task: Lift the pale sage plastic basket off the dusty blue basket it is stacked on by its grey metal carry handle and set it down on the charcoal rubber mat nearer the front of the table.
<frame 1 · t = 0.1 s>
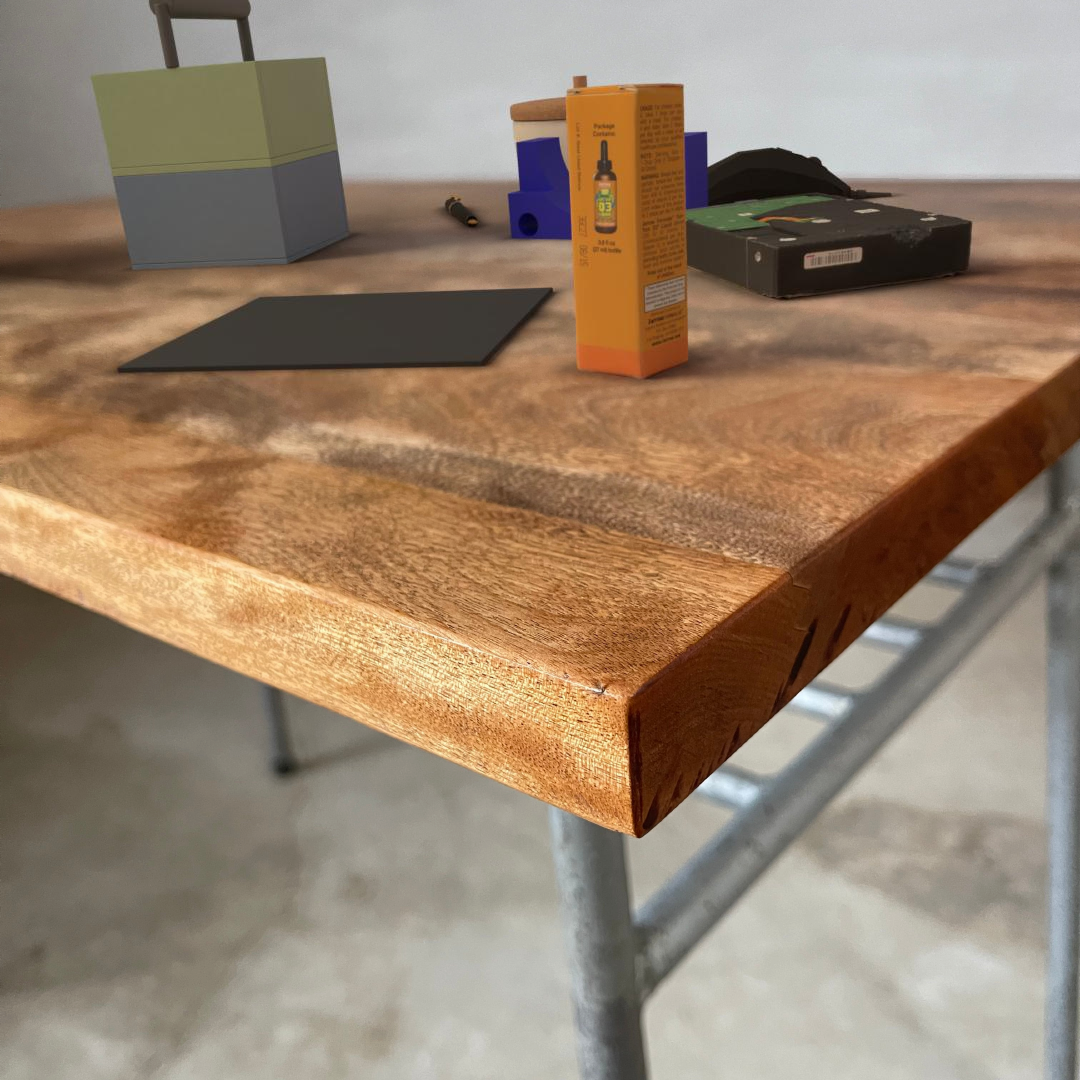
gaming mouse: (784, 209, 79), on the table
mat: (354, 332, 52), on the table
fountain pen: (462, 224, 85), on the table
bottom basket: (247, 254, 77), on the table, touching top basket
top basket: (230, 162, 74), point 6 cm above the table, touching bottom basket
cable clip: (608, 239, 72), on the table
disk drive: (798, 271, 58), on the table
supplement box: (635, 372, 42), on the table
trinket box: (587, 209, 86), on the table
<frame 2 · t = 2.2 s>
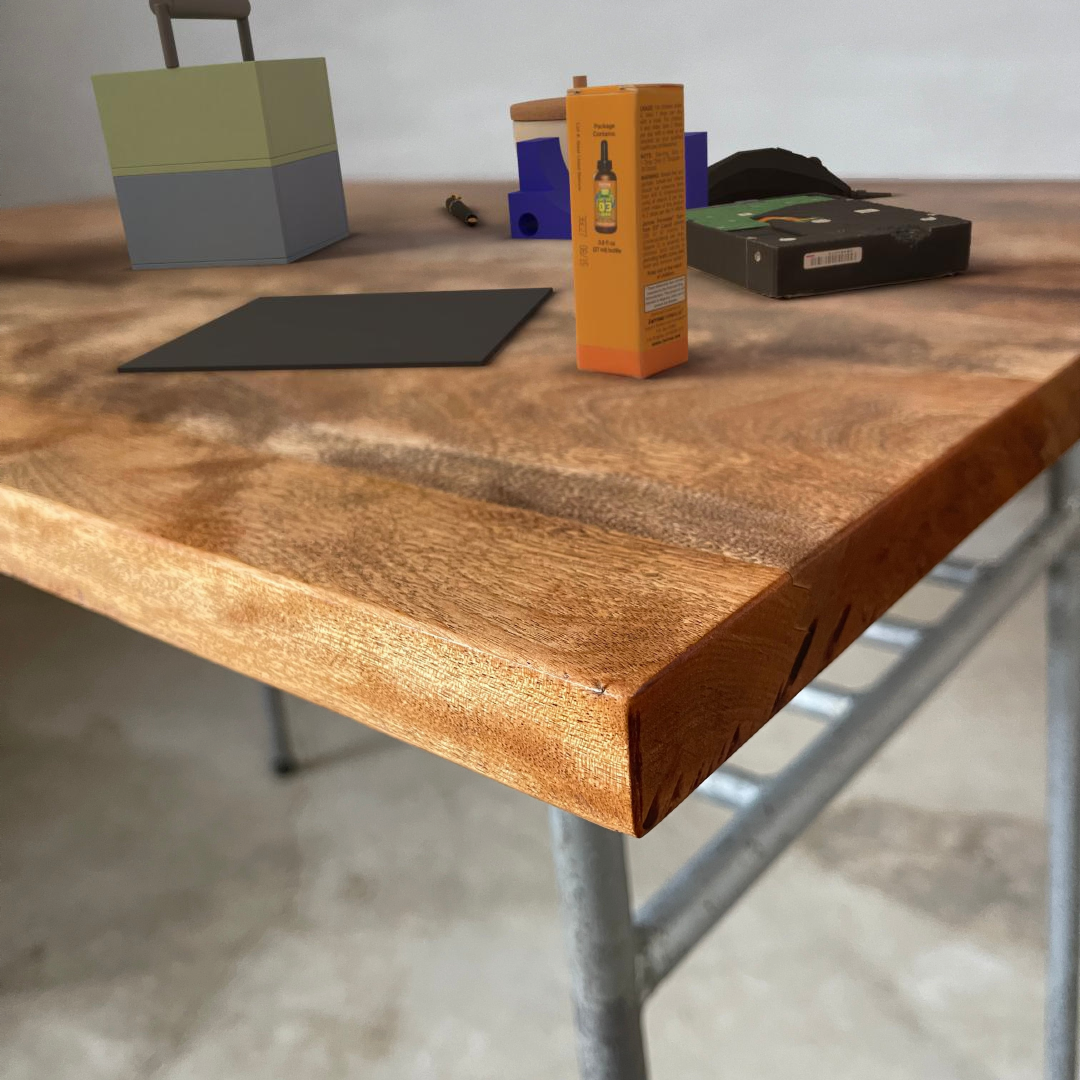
nothing on the table moved.
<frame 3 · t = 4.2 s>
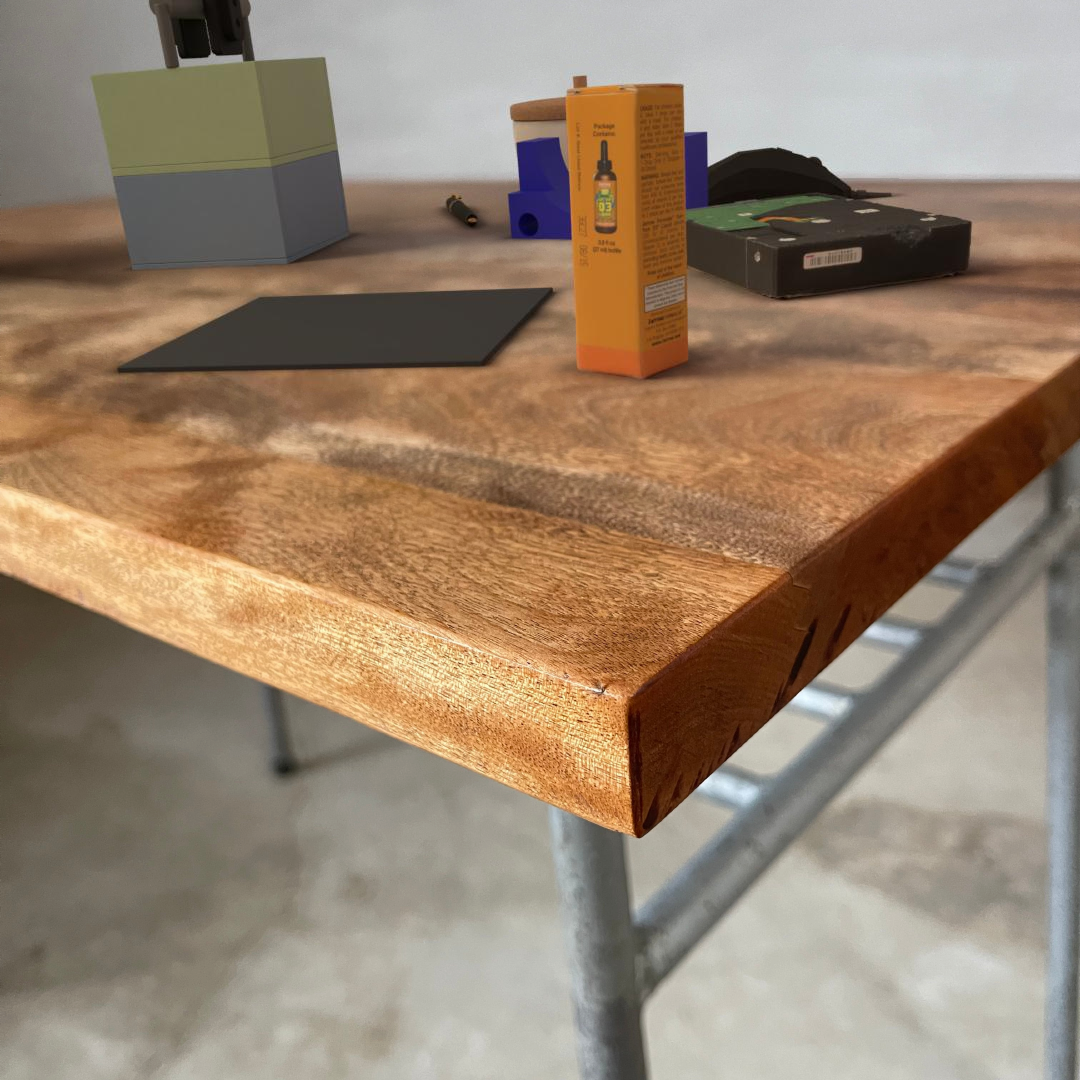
hand: (211, 54, 72), 13 cm above the table, tool pointing down, fingers closed on top basket
top basket: (230, 162, 74), point 6 cm above the table, touching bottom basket, gripper
everything else where it was.
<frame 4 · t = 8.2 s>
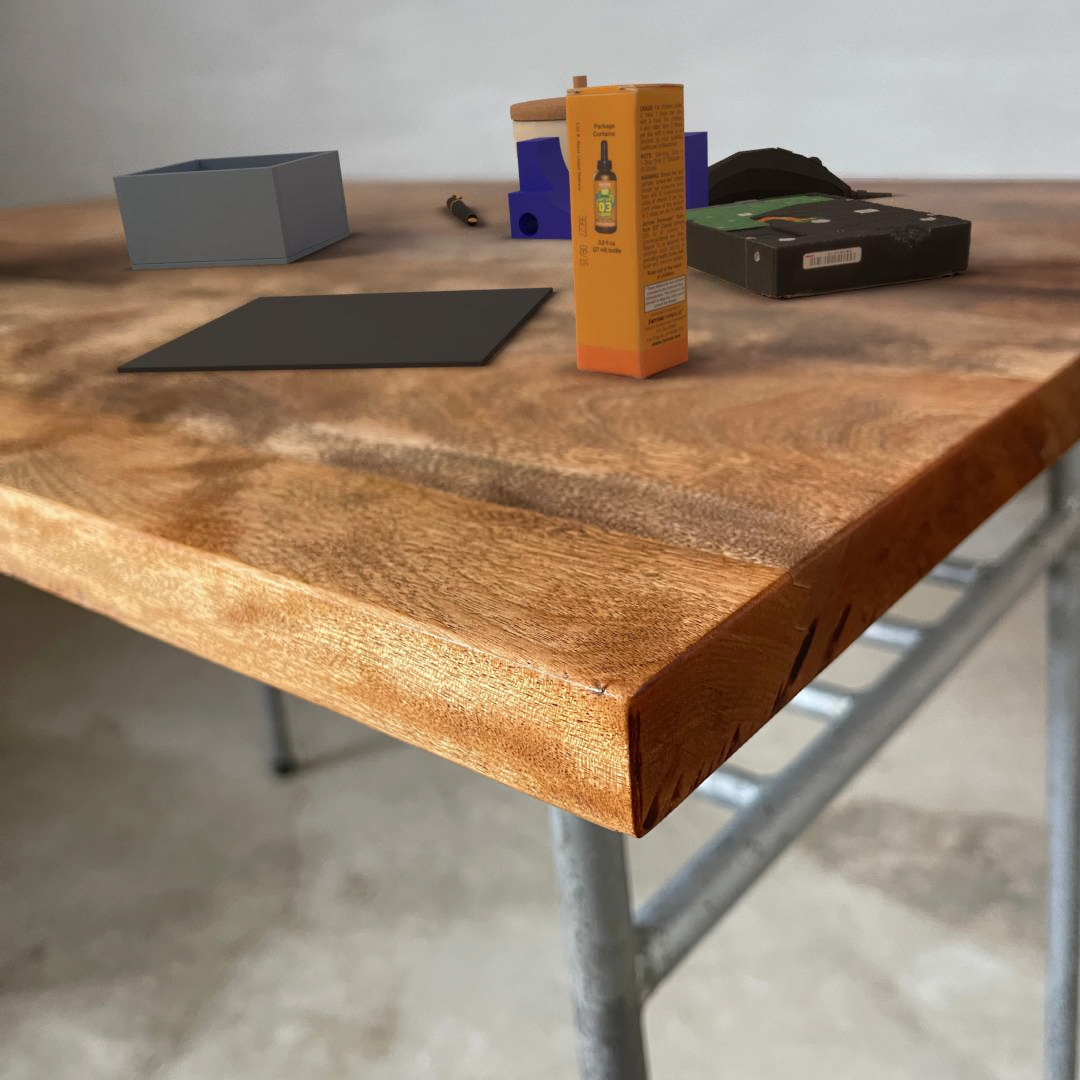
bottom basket: (247, 254, 77), on the table
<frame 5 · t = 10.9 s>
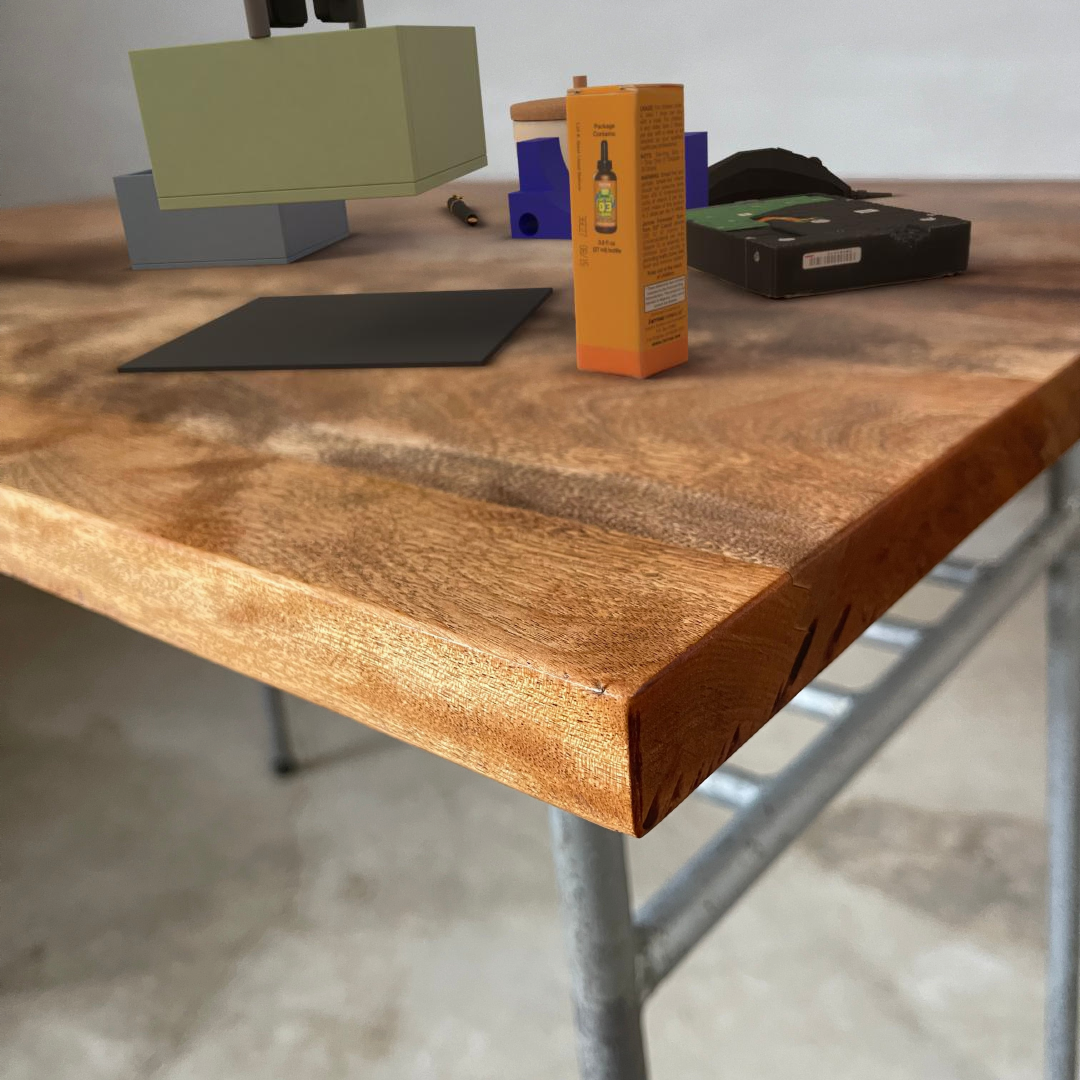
hand: (312, 21, 46), 13 cm above the table, tool pointing down, fingers closed on top basket
top basket: (336, 186, 49), point 6 cm above the table, touching gripper
everything else where it was.
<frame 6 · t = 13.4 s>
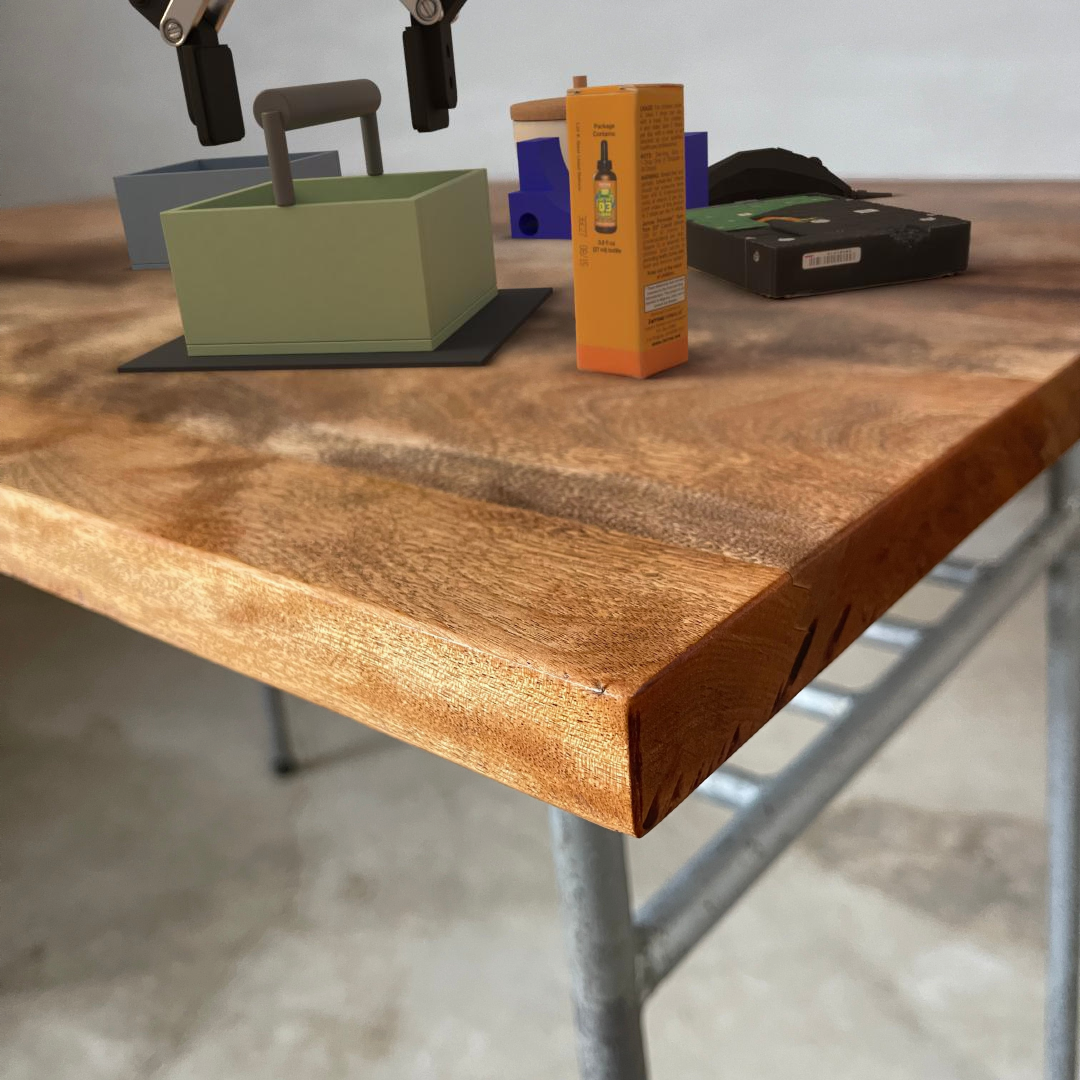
hand: (325, 136, 48), 9 cm above the table, tool pointing down, fingers open, 9 cm apart
top basket: (354, 323, 51), resting on mat
everything else where it was.
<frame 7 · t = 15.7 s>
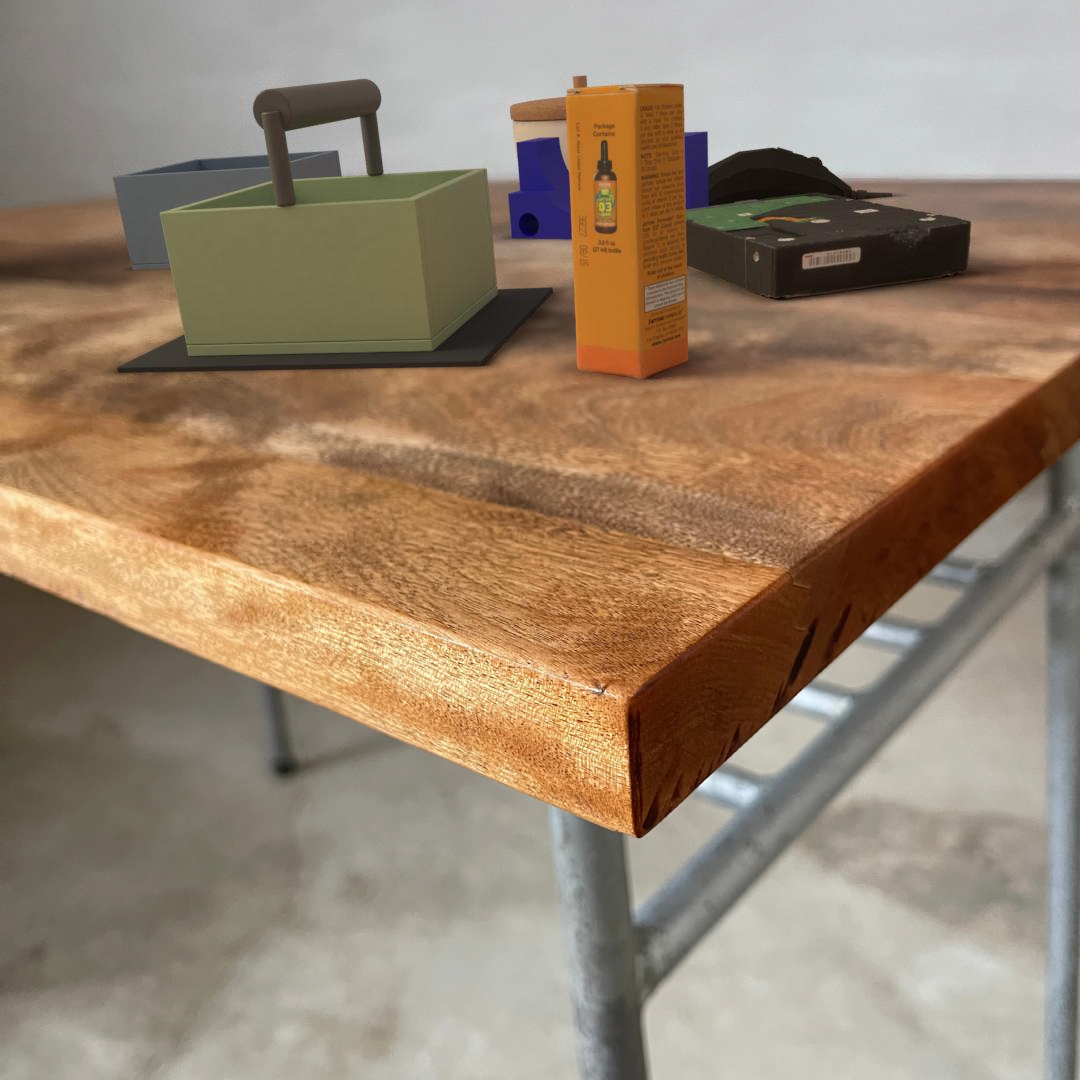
nothing on the table moved.
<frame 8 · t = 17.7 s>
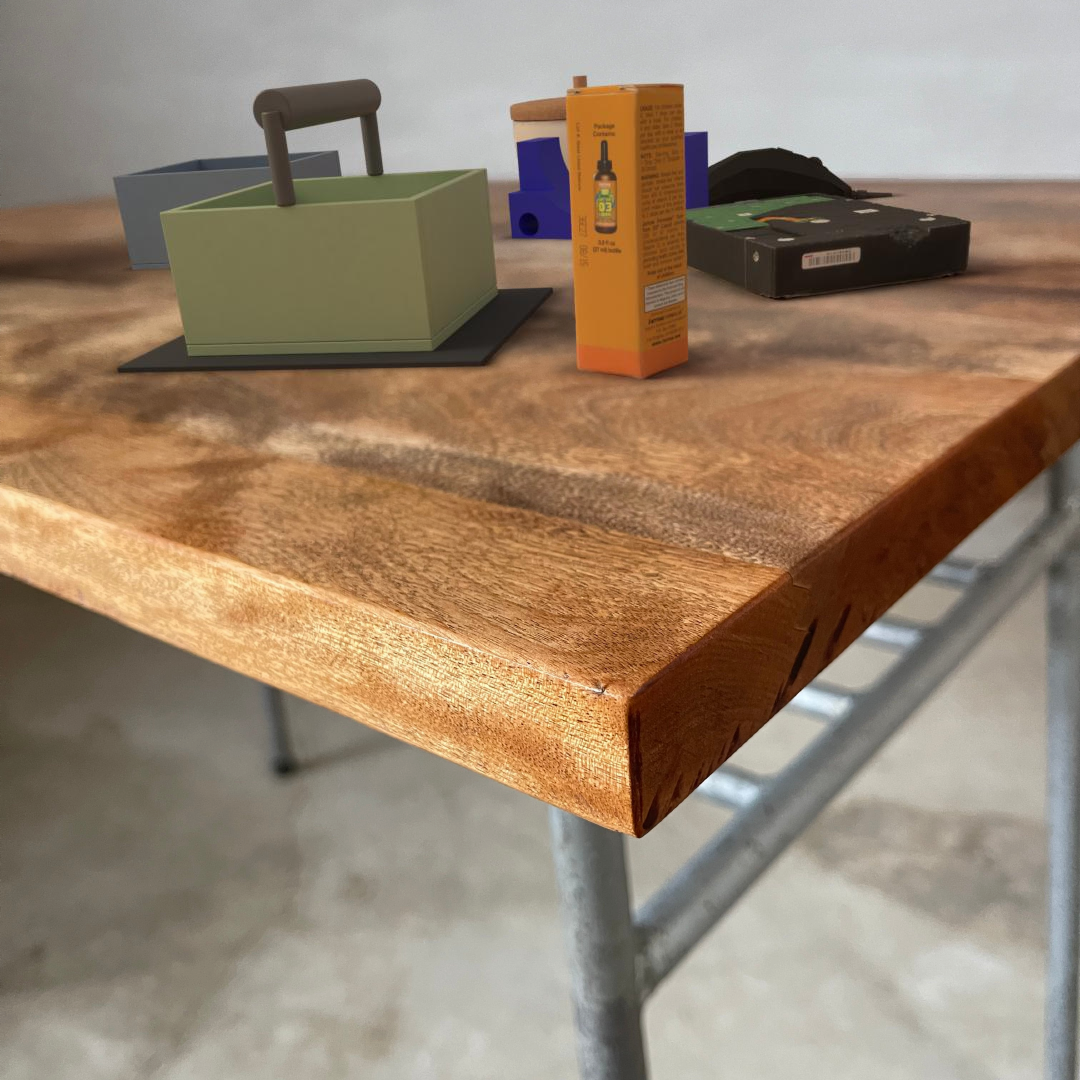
nothing on the table moved.
at the end: top basket inside the target area on the mat (0.0 cm from its centre), point 0.4 cm above the mat's base; top basket tilted 0°; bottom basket moved 0.0 cm from its start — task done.
